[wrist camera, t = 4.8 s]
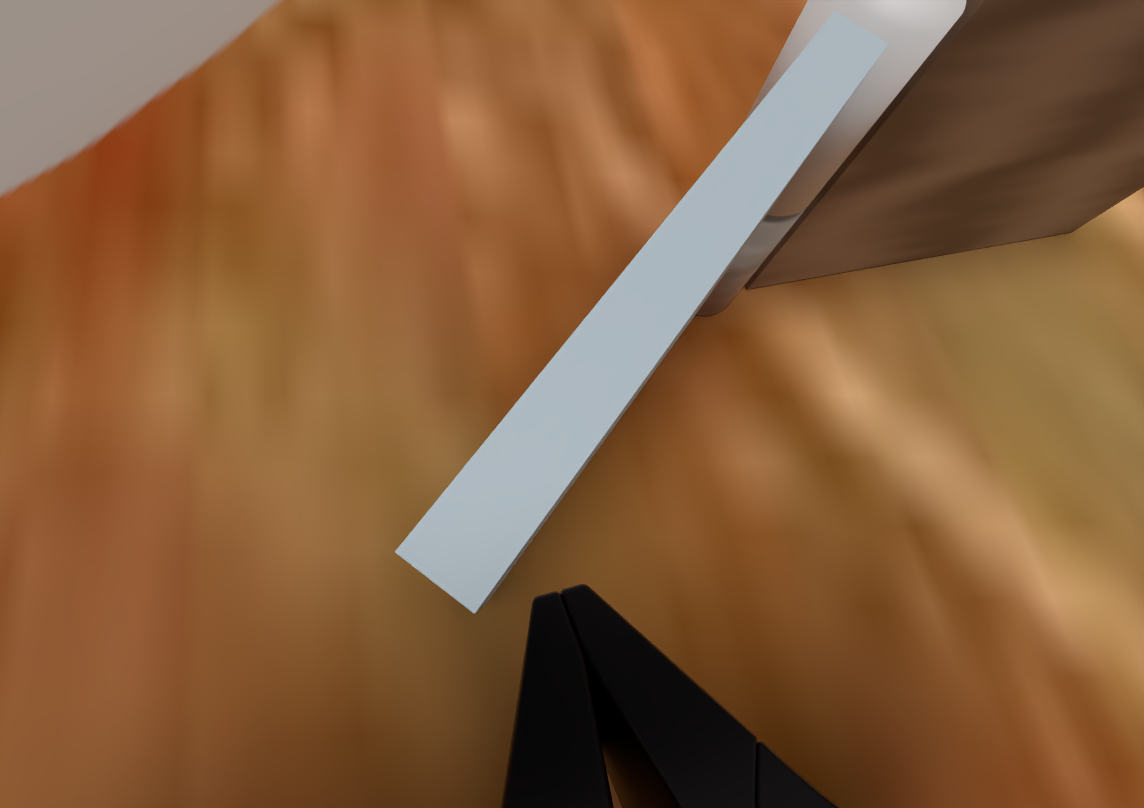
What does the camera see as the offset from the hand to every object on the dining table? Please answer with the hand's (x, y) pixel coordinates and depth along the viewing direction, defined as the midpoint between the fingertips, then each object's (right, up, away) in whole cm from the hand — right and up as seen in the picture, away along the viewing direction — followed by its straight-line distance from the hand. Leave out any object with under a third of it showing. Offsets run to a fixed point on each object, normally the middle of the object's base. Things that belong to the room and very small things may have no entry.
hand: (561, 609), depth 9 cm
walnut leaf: (+11, +9, +12) cm, 18 cm away
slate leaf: (+1, +3, +8) cm, 9 cm away
